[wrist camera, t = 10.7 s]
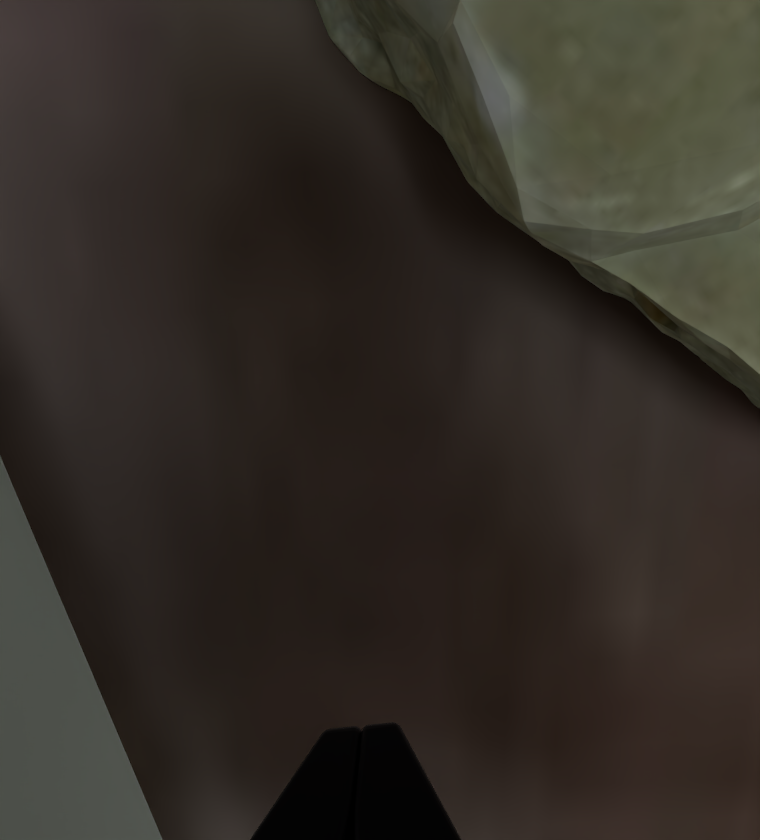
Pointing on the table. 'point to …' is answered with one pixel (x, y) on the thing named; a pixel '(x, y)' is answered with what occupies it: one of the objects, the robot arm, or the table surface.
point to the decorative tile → (600, 140)
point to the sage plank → (54, 711)
